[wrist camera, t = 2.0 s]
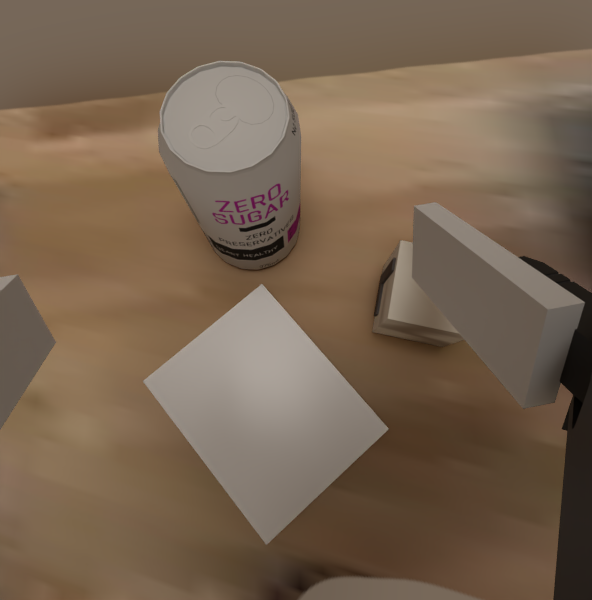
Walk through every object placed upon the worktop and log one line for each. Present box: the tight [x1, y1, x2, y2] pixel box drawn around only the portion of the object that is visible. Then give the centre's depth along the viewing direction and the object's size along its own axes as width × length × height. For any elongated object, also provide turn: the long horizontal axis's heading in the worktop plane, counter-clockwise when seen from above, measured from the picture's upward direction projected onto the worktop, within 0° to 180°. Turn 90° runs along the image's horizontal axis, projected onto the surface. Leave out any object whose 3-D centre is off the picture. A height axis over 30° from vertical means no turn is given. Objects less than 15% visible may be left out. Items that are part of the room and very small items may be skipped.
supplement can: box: [158, 61, 301, 270], centre depth 29 cm, size 8×8×15 cm
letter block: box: [372, 240, 464, 347], centre depth 31 cm, size 6×6×6 cm
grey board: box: [143, 284, 388, 545], centre depth 31 cm, size 15×12×2 cm
